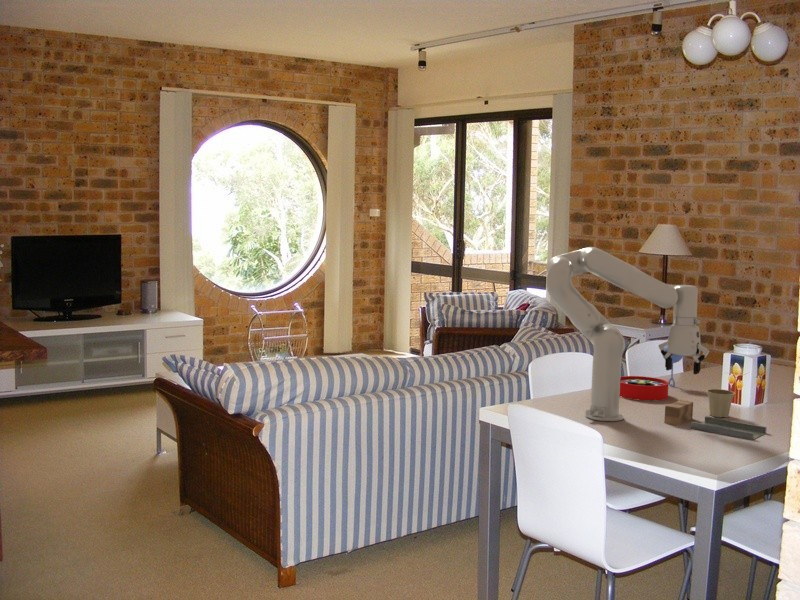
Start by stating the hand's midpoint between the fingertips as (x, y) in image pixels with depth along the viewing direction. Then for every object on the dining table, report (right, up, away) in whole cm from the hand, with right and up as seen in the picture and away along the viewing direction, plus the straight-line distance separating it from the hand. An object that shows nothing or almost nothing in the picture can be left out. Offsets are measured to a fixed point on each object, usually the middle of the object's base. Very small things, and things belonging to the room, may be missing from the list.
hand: (682, 371), depth 298 cm
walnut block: (-1, -17, +2) cm, 17 cm away
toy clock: (-2, -13, +43) cm, 45 cm away
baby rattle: (+15, -11, +62) cm, 65 cm away
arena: (+12, -18, -10) cm, 24 cm away
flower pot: (+16, -17, +11) cm, 26 cm away
